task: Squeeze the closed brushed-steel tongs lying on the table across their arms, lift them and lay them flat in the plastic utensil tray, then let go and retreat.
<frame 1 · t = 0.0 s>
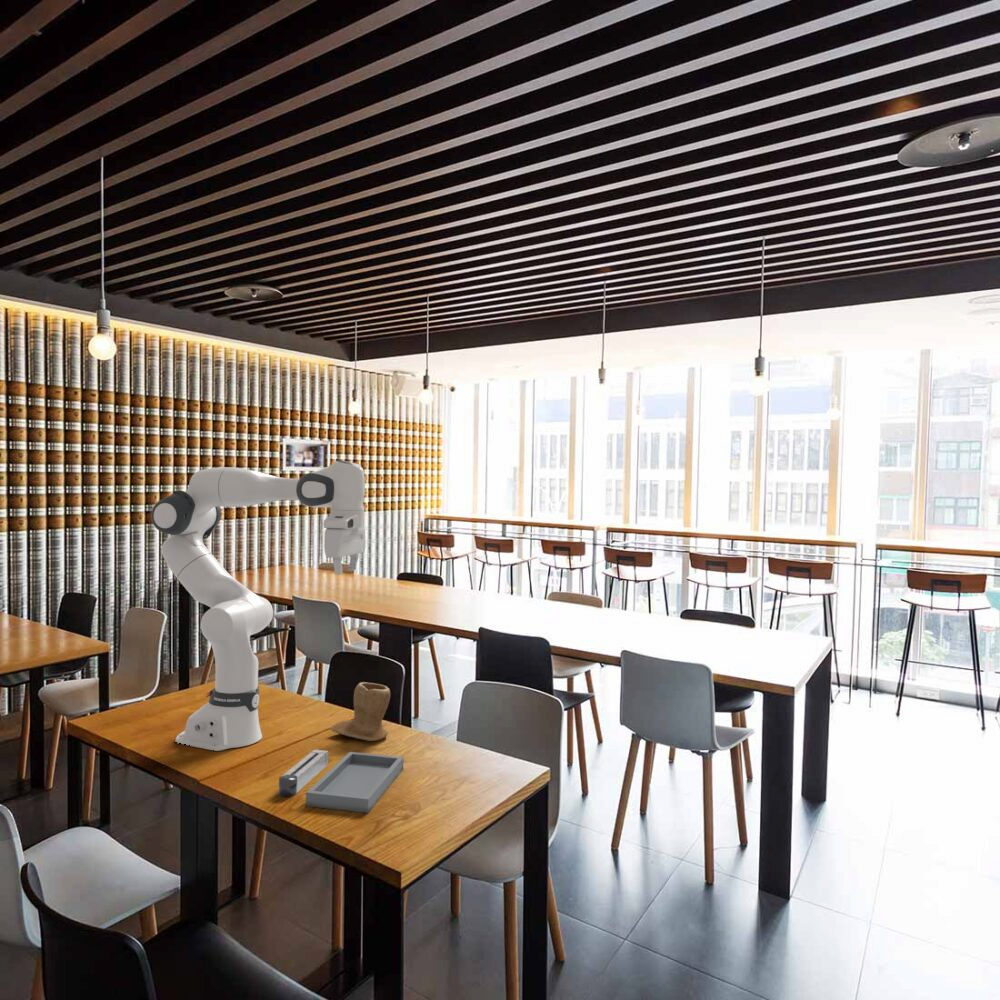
hand: (345, 572, 186), 48 cm above the table, fingers open, 8 cm apart
stone cup: (363, 736, 197), on the table
steel tongs: (304, 778, 166), on the table
utensil tray: (357, 786, 163), on the table
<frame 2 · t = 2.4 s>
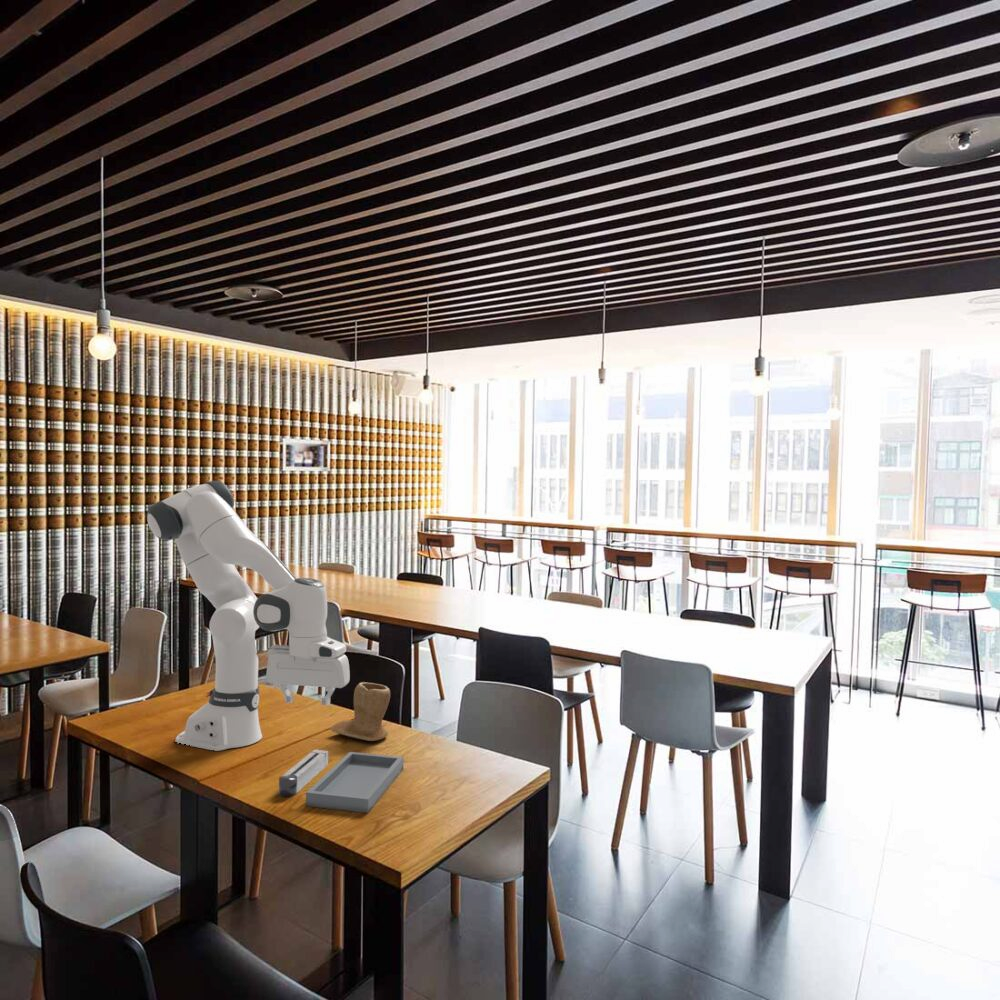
hand: (307, 703, 166), 18 cm above the table, fingers open, 8 cm apart
nothing on the table moved.
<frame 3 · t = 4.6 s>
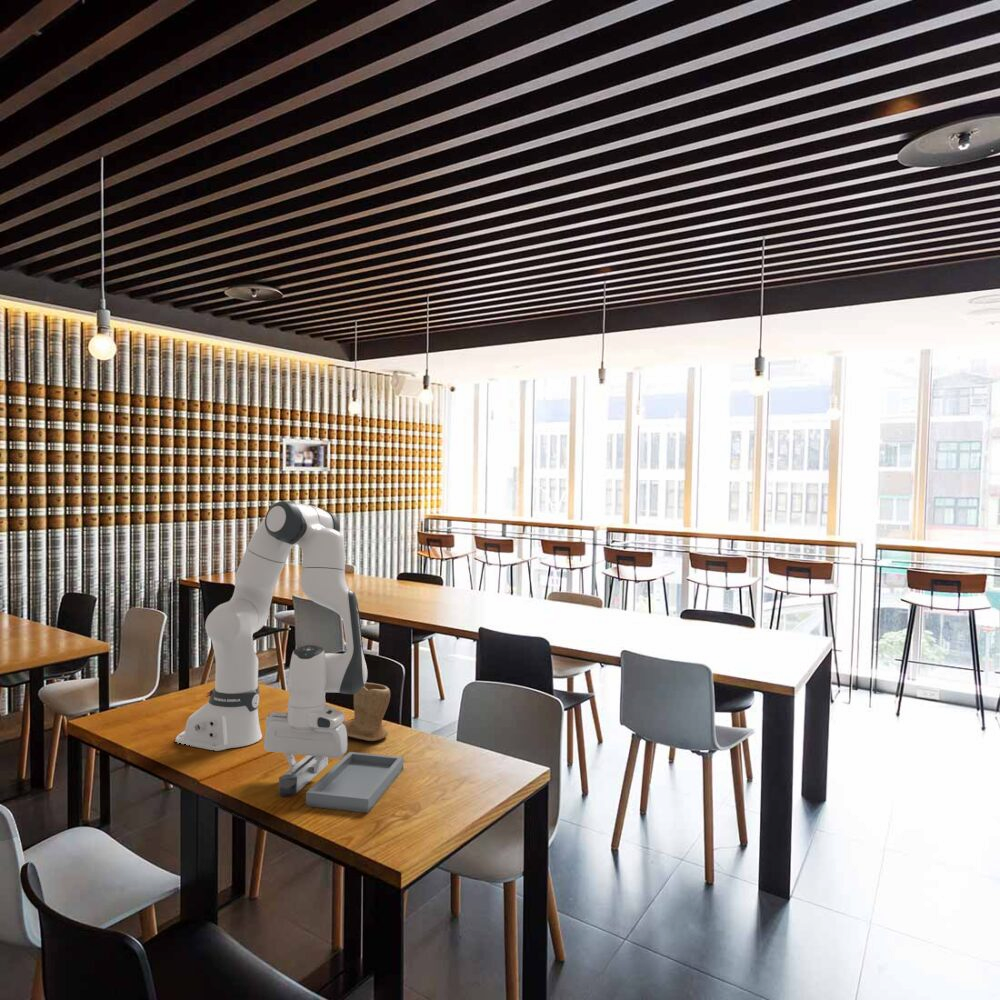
hand: (304, 771, 166), 2 cm above the table, fingers closed on steel tongs, 4 cm apart
steel tongs: (304, 778, 166), on the table, touching gripper
everything else where it was.
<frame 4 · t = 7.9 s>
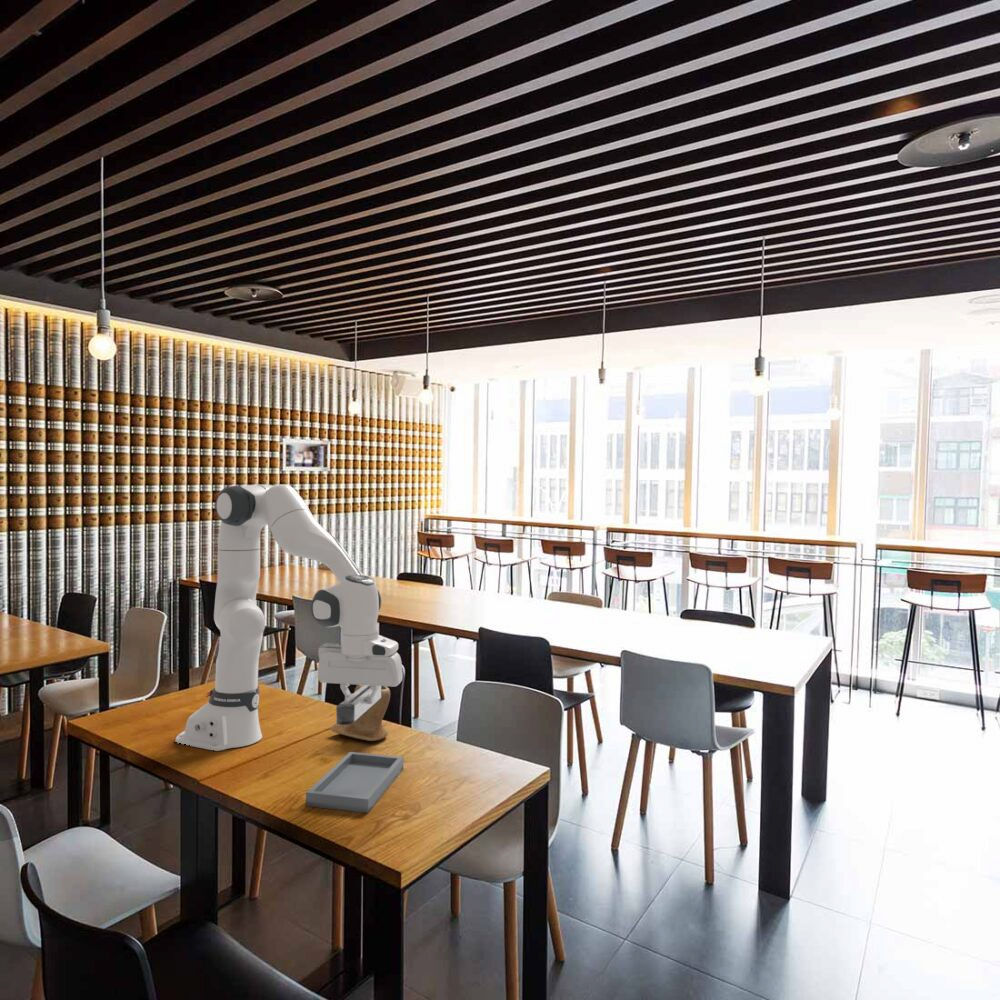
hand: (359, 702, 163), 20 cm above the table, fingers closed on steel tongs, 4 cm apart
steel tongs: (359, 709, 163), point 18 cm above the table, touching gripper
everything else where it was.
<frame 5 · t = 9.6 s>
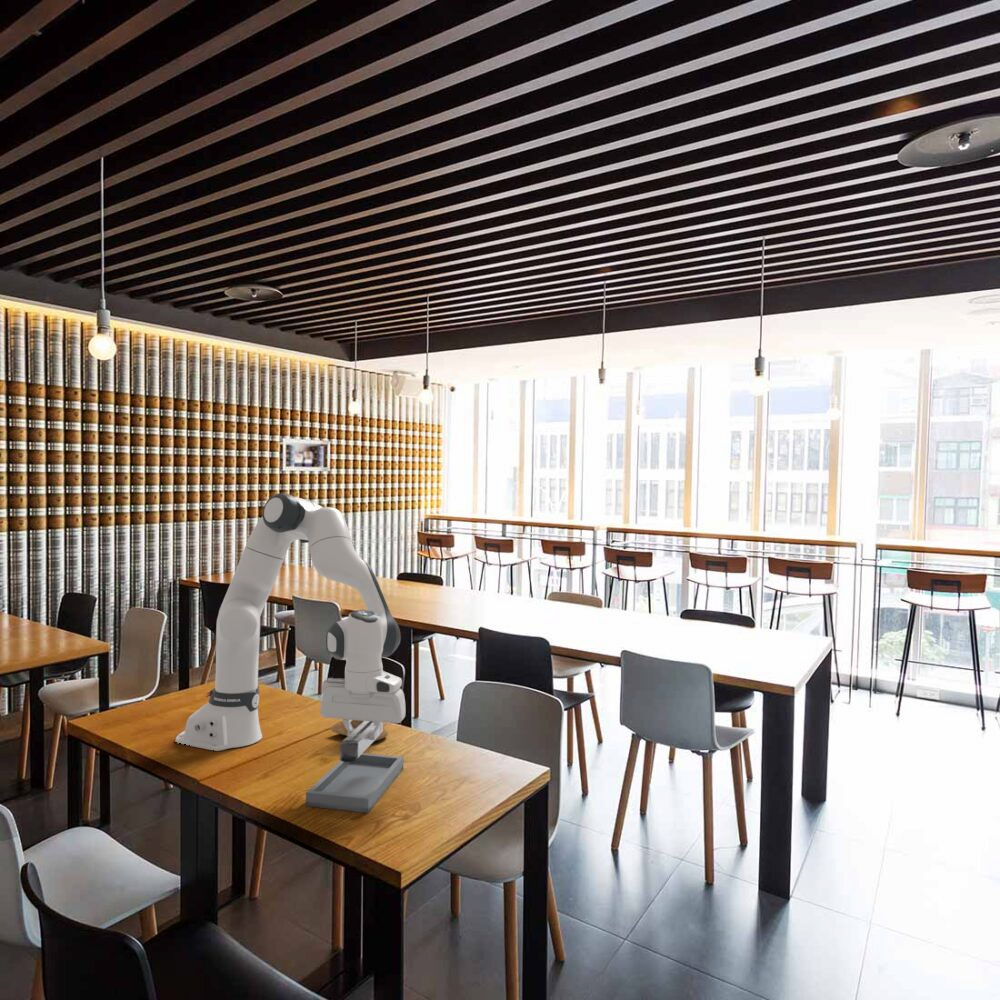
hand: (362, 738, 164), 11 cm above the table, fingers closed on steel tongs, 4 cm apart
steel tongs: (362, 744, 164), point 9 cm above the table, touching gripper
everything else where it was.
when the fingers open (4 cm above the table, at t = 11.3 s): steel tongs stays where it is, resting on utensil tray.
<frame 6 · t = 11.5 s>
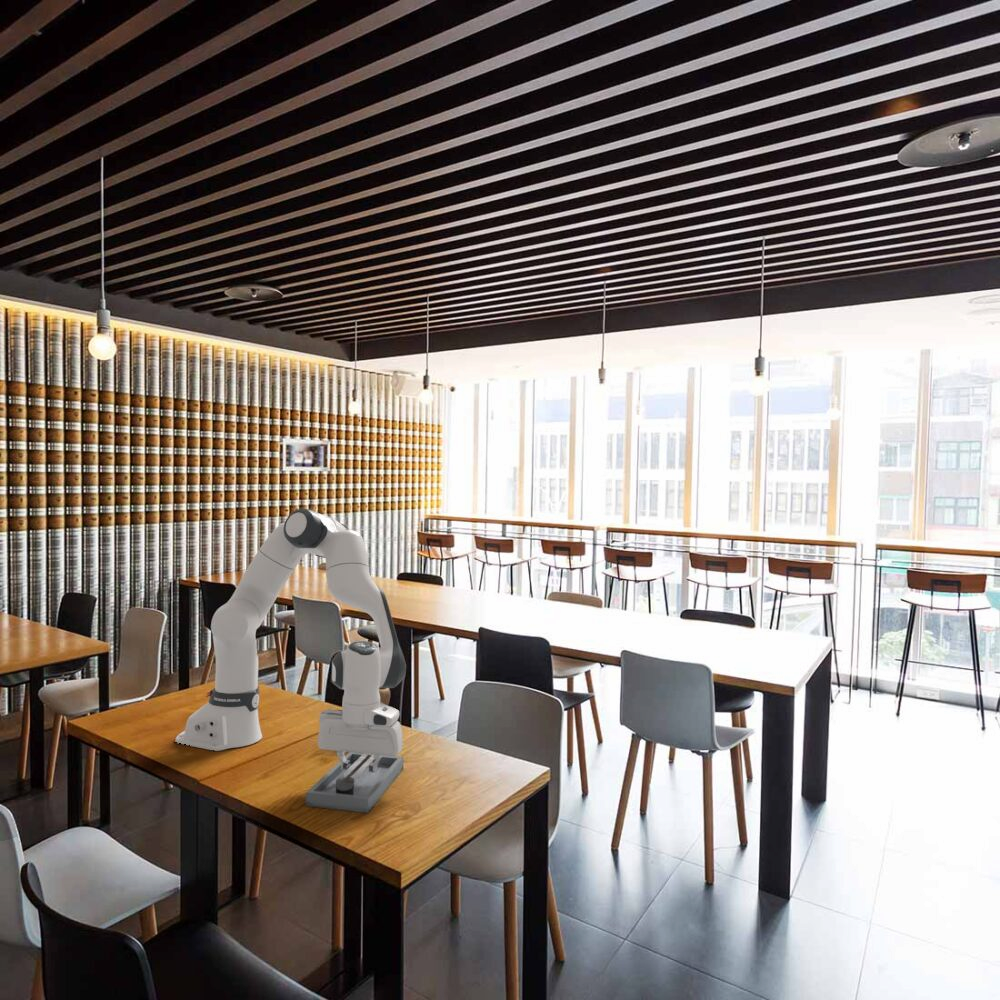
hand: (359, 770, 163), 4 cm above the table, fingers open, 5 cm apart
steel tongs: (358, 781, 164), point 1 cm above the table, touching utensil tray
everything else where it was.
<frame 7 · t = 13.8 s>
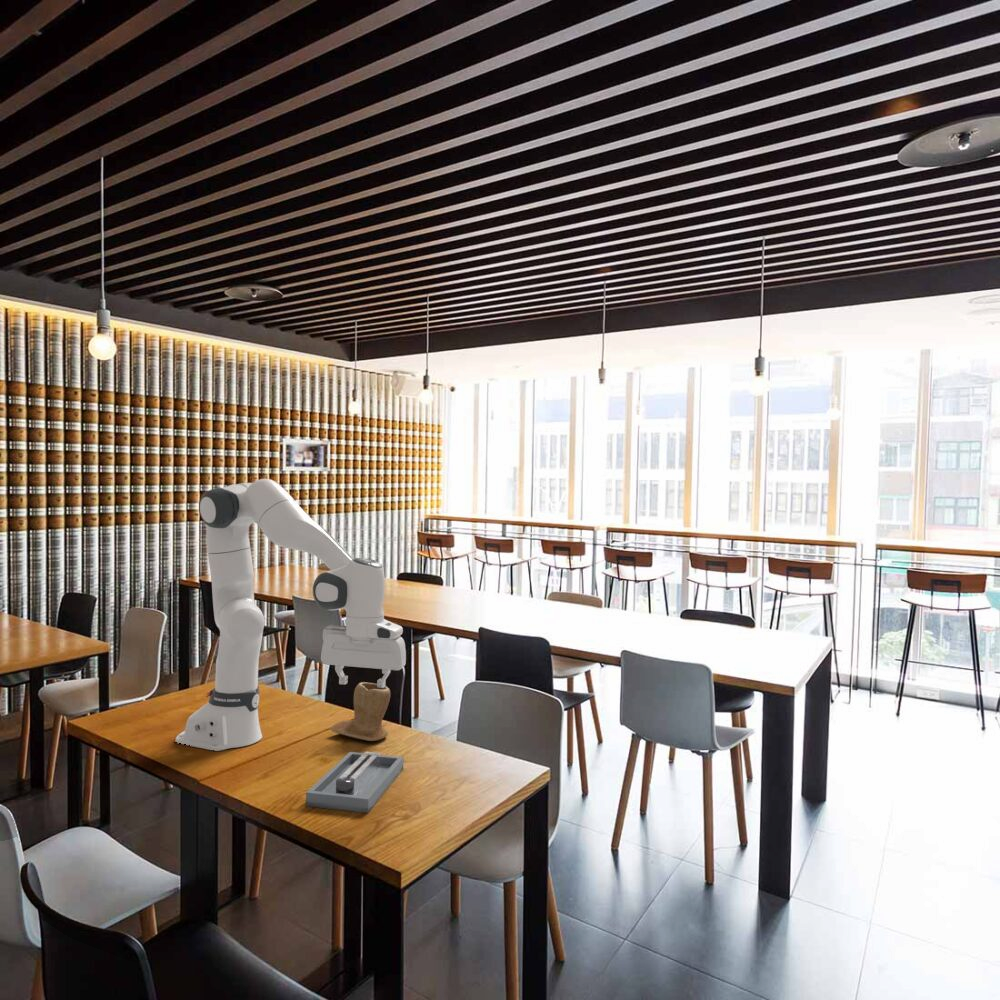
hand: (362, 685, 163), 24 cm above the table, fingers open, 8 cm apart
nothing on the table moved.
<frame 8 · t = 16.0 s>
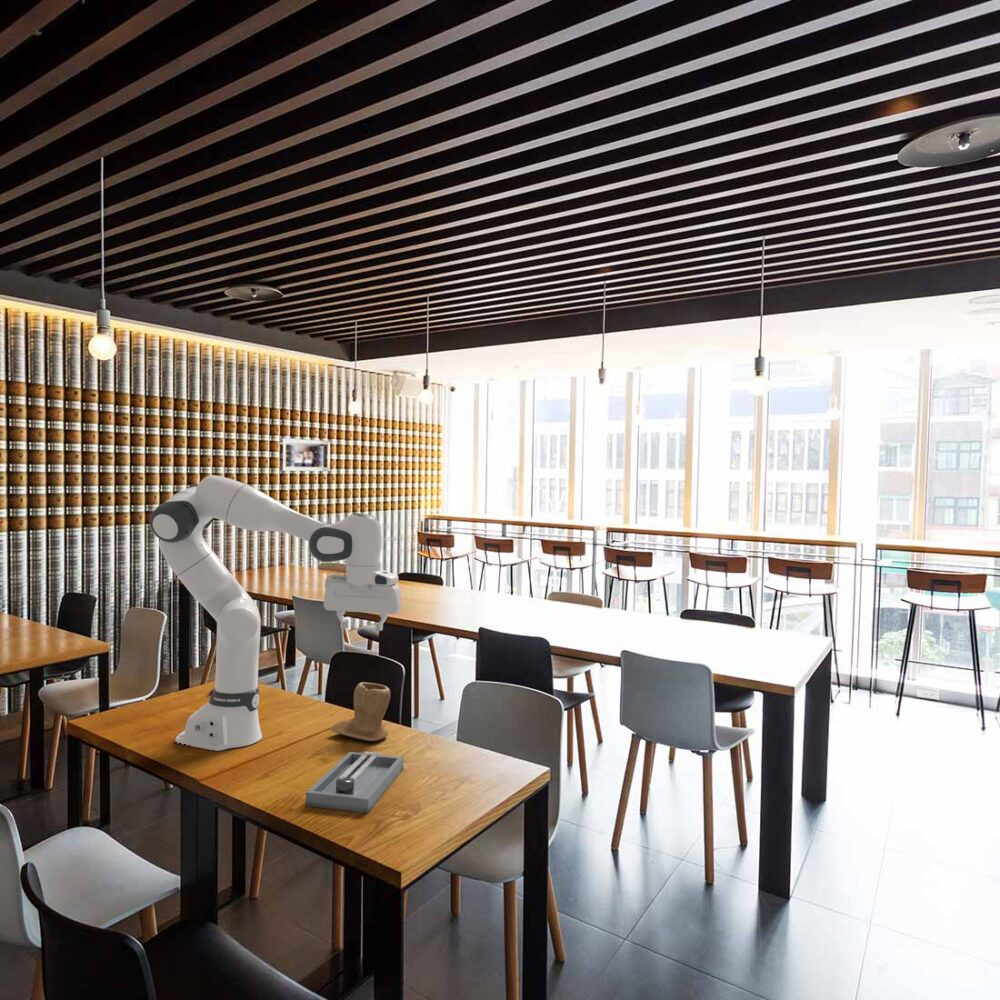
hand: (361, 629, 179), 34 cm above the table, fingers open, 8 cm apart
nothing on the table moved.
at the end: steel tongs inside the target area on the utensil tray (0.6 cm from its centre), point 1.0 cm above the utensil tray's base; steel tongs touching utensil tray; the gripper is holding nothing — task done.
